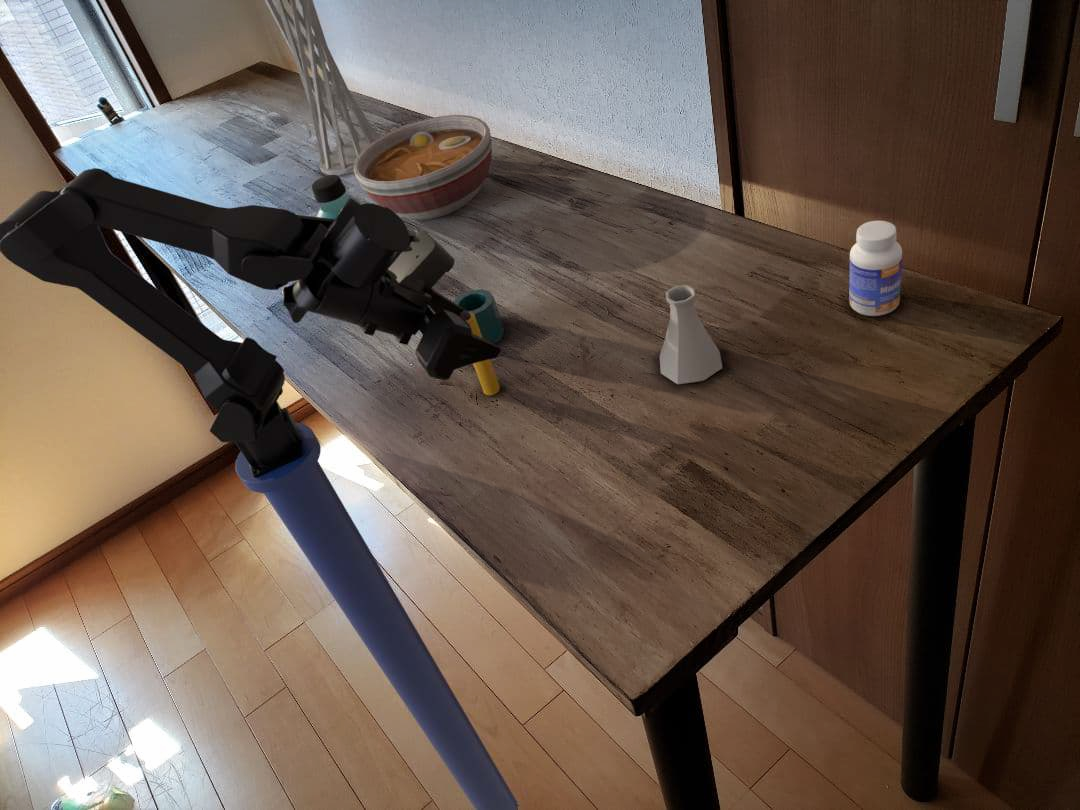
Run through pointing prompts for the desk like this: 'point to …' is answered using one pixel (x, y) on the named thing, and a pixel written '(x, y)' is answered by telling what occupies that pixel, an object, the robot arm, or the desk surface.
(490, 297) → the pen pot
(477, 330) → the pencil
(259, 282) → the robot arm
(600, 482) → the desk surface
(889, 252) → the pill bottle
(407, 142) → the bowl
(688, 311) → the flask
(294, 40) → the vase
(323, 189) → the beverage bottle
